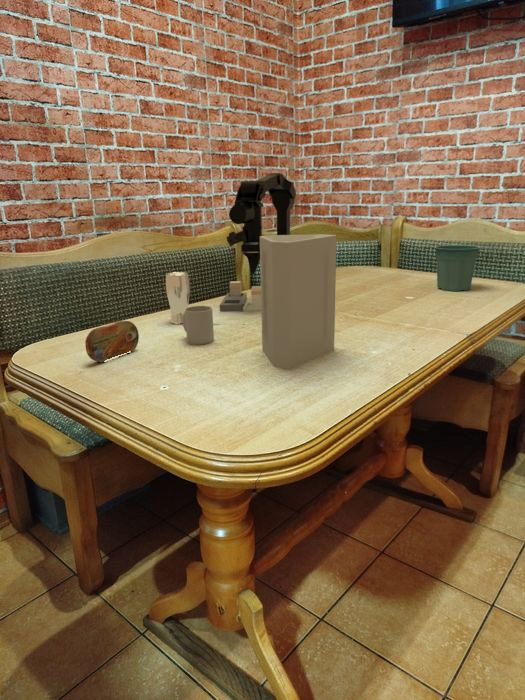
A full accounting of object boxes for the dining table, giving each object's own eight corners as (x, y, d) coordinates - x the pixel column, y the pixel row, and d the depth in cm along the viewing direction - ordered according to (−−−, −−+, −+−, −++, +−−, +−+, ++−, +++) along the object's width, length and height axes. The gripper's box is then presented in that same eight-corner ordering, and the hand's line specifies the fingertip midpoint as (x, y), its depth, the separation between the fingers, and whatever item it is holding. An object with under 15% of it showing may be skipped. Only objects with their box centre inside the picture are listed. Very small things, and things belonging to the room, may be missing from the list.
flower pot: (422, 287, 200) (425, 246, 195) (453, 283, 207) (457, 243, 202) (453, 294, 186) (457, 250, 181) (485, 289, 193) (490, 247, 188)
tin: (94, 367, 118) (89, 332, 115) (85, 364, 119) (80, 330, 117) (141, 349, 130) (137, 317, 127) (132, 348, 131) (129, 316, 129)
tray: (271, 307, 173) (271, 302, 173) (270, 313, 164) (270, 308, 164) (245, 307, 174) (245, 302, 173) (243, 313, 165) (242, 308, 165)
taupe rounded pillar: (288, 339, 135) (287, 232, 127) (335, 349, 126) (338, 235, 118) (240, 358, 121) (235, 239, 113) (289, 370, 112) (288, 242, 104)
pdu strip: (246, 300, 184) (246, 280, 181) (241, 313, 165) (240, 290, 162) (227, 301, 184) (226, 280, 182) (220, 313, 165) (218, 291, 163)
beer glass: (193, 319, 159) (190, 271, 155) (188, 324, 153) (185, 275, 148) (172, 319, 160) (168, 271, 155) (166, 324, 153) (162, 275, 149)
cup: (199, 346, 131) (197, 313, 128) (174, 340, 137) (172, 308, 135) (219, 340, 136) (217, 308, 134) (194, 334, 142) (192, 303, 140)
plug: (263, 306, 170) (263, 286, 168) (262, 309, 167) (262, 288, 165) (252, 306, 171) (252, 286, 169) (251, 309, 167) (251, 288, 165)
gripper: (230, 221, 170) (232, 267, 175) (223, 224, 152) (226, 276, 157) (263, 220, 169) (264, 267, 174) (260, 223, 151) (261, 275, 156)
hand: (253, 271), depth 165 cm, fingers open, 9 cm apart
